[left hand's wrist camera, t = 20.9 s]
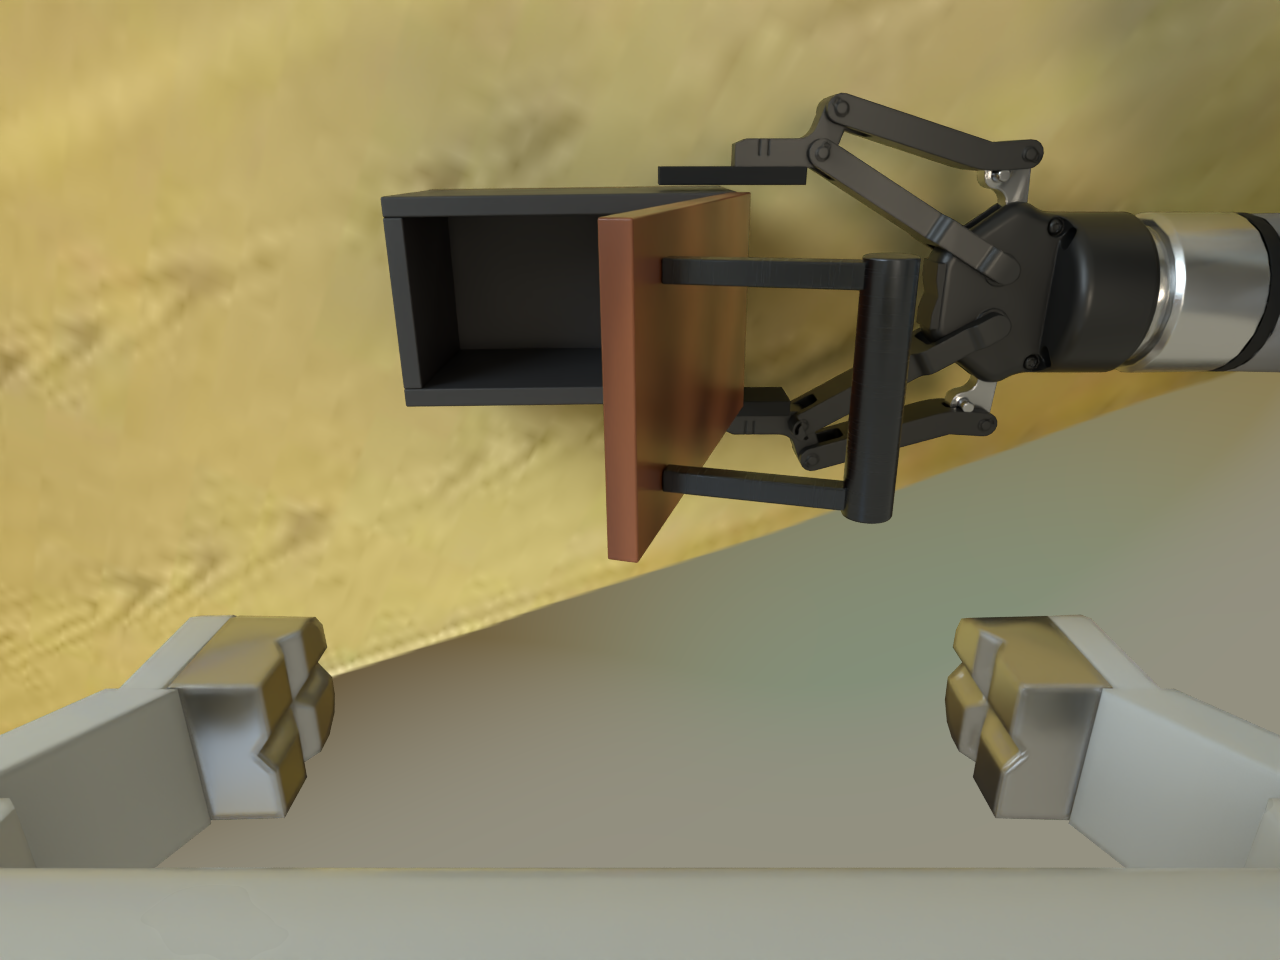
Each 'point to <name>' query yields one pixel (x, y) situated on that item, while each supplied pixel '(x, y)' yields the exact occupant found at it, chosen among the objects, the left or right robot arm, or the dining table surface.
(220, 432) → the dining table surface
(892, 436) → the lid
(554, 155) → the dining table surface
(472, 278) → the chest
